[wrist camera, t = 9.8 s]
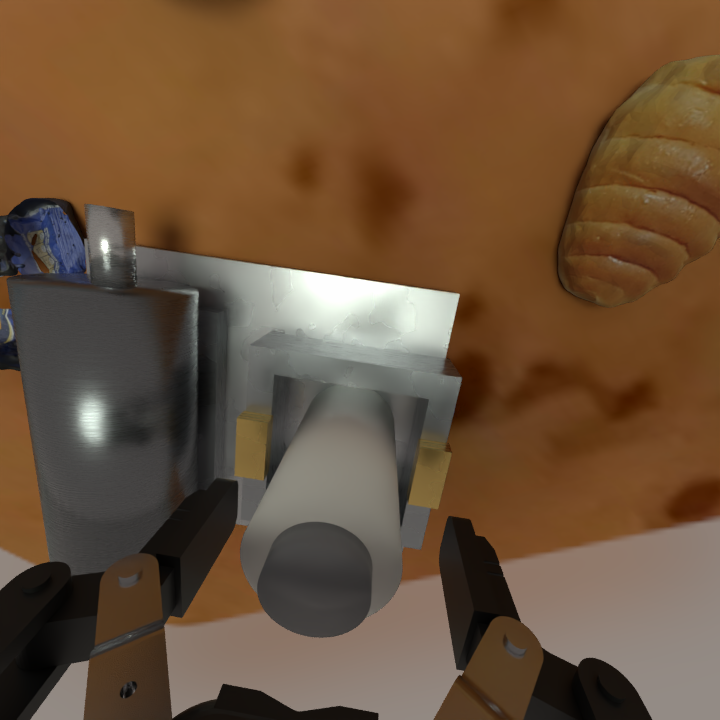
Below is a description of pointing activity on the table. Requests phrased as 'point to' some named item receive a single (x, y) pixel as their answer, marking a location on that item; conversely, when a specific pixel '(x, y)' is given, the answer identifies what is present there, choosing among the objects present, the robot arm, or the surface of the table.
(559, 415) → the table surface
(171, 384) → the motor unit
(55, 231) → the snack package
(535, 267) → the table surface
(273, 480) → the white cylinder roll
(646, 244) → the pastry
